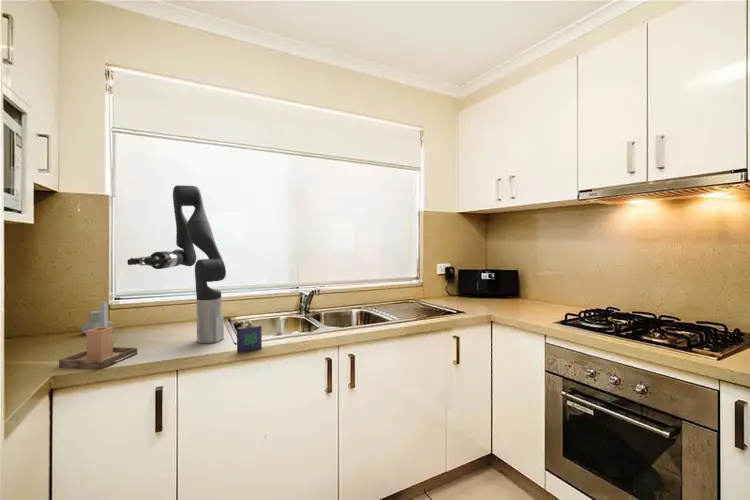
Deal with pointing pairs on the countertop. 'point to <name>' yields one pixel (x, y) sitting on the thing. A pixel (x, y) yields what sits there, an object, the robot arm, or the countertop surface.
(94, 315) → the air freshener
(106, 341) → the collar
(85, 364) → the tray
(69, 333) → the countertop surface
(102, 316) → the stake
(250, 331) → the flask
